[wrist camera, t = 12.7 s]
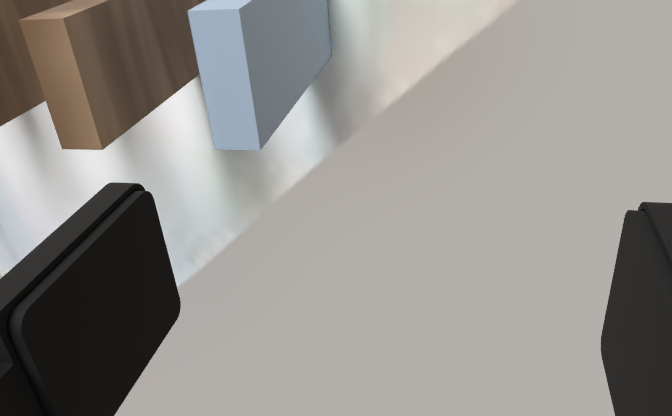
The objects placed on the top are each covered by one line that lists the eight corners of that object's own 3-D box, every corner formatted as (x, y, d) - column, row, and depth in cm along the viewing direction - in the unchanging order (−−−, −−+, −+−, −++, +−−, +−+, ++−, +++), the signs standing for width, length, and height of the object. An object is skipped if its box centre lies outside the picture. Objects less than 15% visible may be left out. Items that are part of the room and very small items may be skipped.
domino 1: (89, -30, 32) (-90, 24, 22) (114, 61, 35) (-38, 147, 25) (60, -29, 33) (-129, 25, 23) (86, 62, 35) (-73, 146, 25)
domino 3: (299, 56, 32) (214, 149, 22) (288, -44, 30) (187, 10, 20) (331, 55, 32) (260, 150, 22) (323, -46, 29) (239, 9, 19)
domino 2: (200, -37, 31) (62, 18, 21) (218, 59, 33) (102, 149, 23) (168, -35, 31) (18, 20, 21) (188, 60, 34) (62, 149, 24)
